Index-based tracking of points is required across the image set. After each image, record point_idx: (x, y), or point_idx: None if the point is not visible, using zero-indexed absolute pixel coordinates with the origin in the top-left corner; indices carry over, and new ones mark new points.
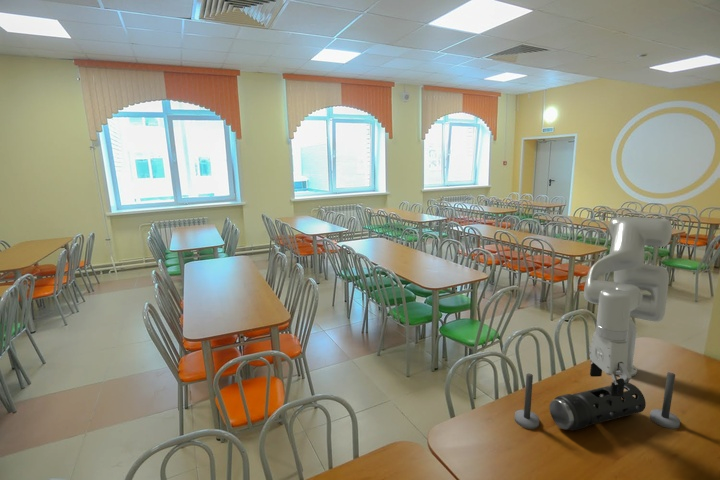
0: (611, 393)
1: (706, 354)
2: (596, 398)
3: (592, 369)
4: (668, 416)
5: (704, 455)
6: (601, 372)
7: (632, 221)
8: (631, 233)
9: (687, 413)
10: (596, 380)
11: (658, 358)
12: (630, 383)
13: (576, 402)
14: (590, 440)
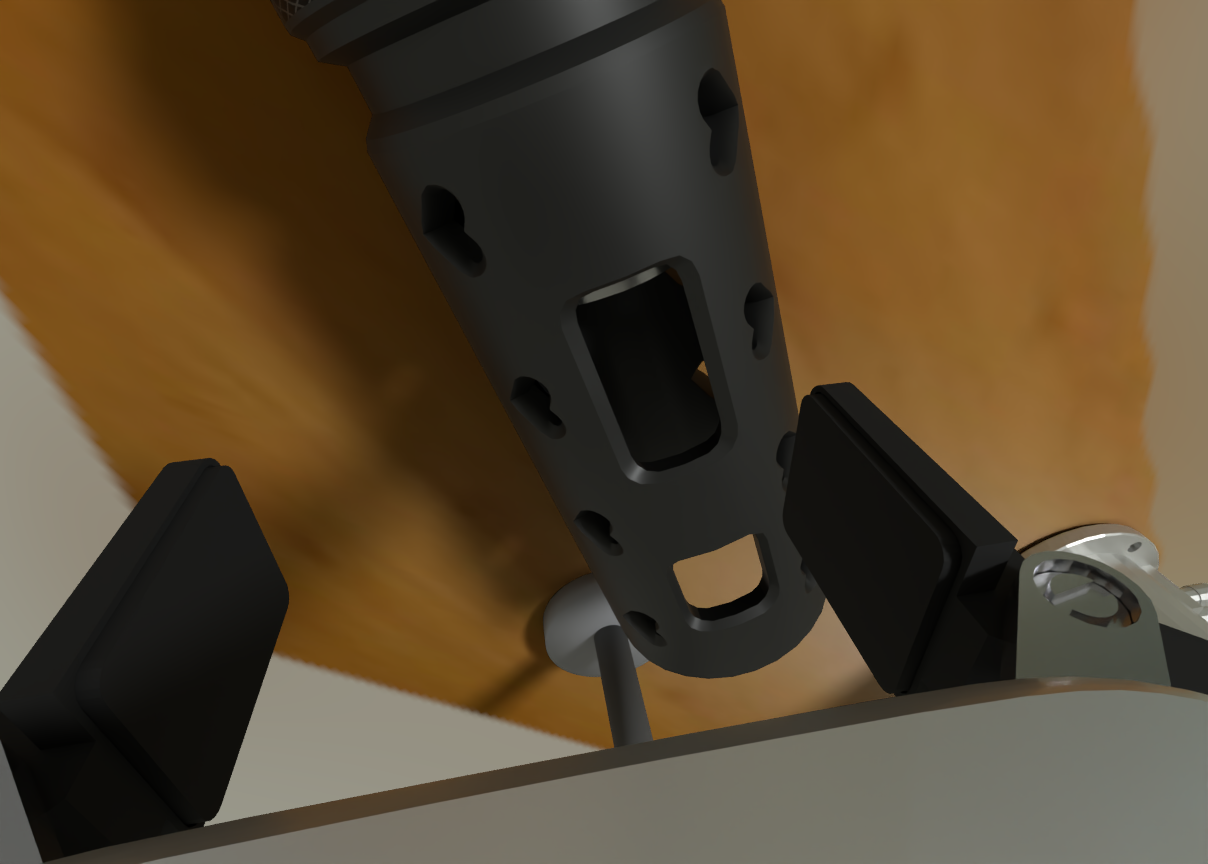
0: (160, 484)
1: None
2: (537, 283)
3: (882, 479)
4: (596, 652)
5: (352, 655)
6: (812, 571)
7: None
8: None
9: (661, 703)
10: (1000, 455)
11: None
12: (772, 660)
13: None
14: (302, 51)
